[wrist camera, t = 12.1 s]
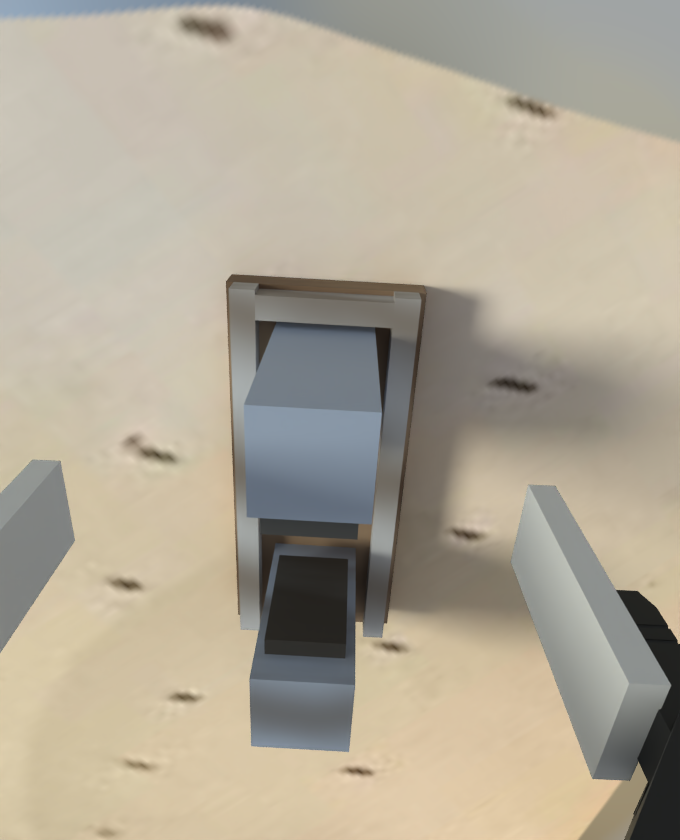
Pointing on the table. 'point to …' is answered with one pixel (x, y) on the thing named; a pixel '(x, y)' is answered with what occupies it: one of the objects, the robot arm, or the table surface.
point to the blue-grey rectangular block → (313, 431)
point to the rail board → (312, 556)
